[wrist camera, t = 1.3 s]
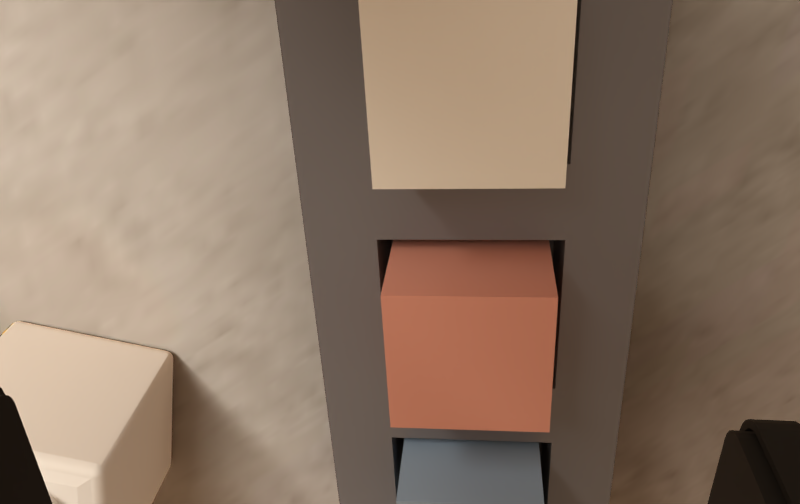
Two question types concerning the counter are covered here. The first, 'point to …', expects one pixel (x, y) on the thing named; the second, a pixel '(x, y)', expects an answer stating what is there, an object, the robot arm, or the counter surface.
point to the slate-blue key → (469, 472)
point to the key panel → (478, 220)
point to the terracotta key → (470, 334)
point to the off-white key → (468, 92)
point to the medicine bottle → (91, 412)
